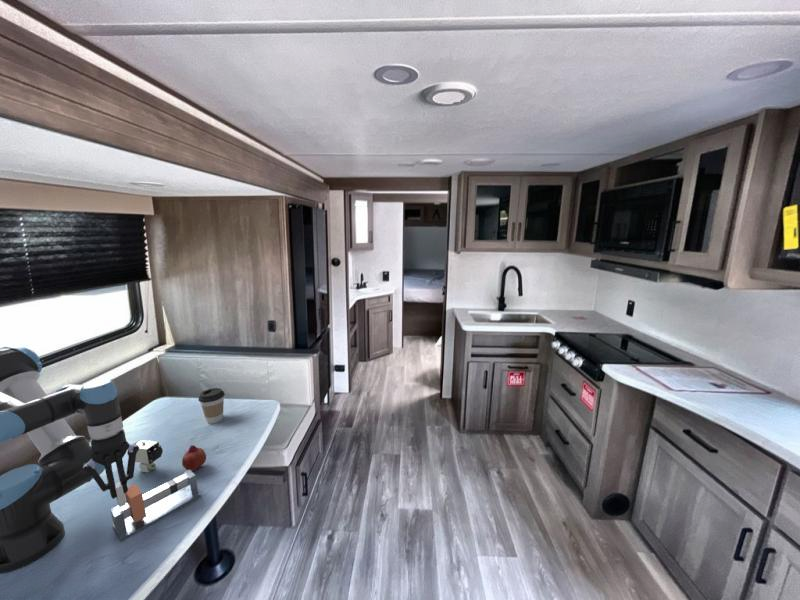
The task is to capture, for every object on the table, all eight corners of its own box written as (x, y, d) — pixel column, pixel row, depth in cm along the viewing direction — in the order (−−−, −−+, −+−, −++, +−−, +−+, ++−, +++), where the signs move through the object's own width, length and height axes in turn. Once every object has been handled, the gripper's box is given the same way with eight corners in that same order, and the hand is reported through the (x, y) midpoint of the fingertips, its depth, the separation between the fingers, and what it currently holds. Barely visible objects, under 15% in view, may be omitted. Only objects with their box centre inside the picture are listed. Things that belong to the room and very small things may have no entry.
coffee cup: (212, 413, 172) (208, 386, 169) (232, 414, 170) (229, 387, 168) (196, 425, 161) (192, 396, 158) (217, 427, 159) (213, 397, 157)
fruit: (181, 478, 125) (177, 454, 123) (185, 465, 132) (182, 442, 130) (206, 472, 128) (202, 448, 126) (208, 459, 135) (205, 437, 133)
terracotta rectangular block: (134, 522, 102) (130, 498, 100) (128, 512, 106) (124, 489, 104) (146, 516, 104) (142, 492, 103) (140, 506, 108) (135, 483, 106)
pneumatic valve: (155, 475, 127) (150, 447, 125) (130, 471, 129) (125, 444, 127) (168, 465, 132) (163, 438, 130) (143, 462, 134) (138, 435, 132)
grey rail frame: (120, 542, 98) (116, 520, 97) (112, 526, 104) (108, 505, 102) (200, 496, 115) (198, 477, 114) (190, 485, 121) (187, 467, 120)
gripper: (79, 449, 90) (96, 524, 94) (138, 427, 100) (151, 496, 104) (74, 439, 94) (90, 511, 98) (131, 419, 104) (144, 486, 108)
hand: (121, 503), depth 101 cm, fingers closed
